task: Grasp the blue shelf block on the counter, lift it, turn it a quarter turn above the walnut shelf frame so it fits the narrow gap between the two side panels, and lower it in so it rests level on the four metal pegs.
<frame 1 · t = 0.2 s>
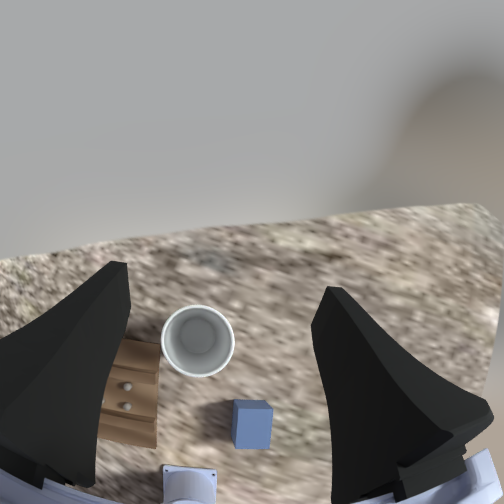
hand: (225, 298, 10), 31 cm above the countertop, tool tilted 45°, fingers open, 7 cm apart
shelf frame: (117, 391, 34), on the countertop
shelf block: (247, 418, 37), on the countertop
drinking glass: (197, 335, 39), on the countertop
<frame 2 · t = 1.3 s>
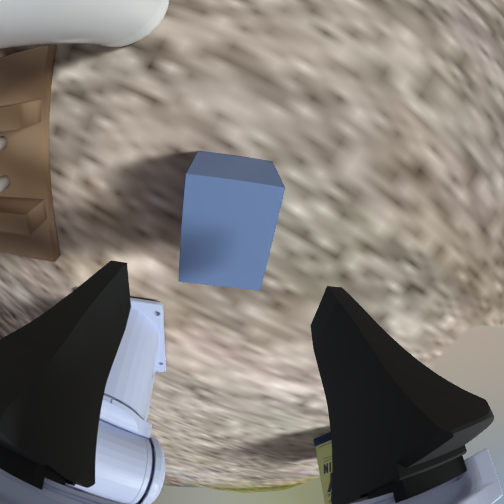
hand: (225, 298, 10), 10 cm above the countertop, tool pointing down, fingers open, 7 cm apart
protein box: (357, 433, 42), on the countertop
shelf block: (228, 200, 19), on the countertop
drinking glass: (129, 10, 11), on the countertop
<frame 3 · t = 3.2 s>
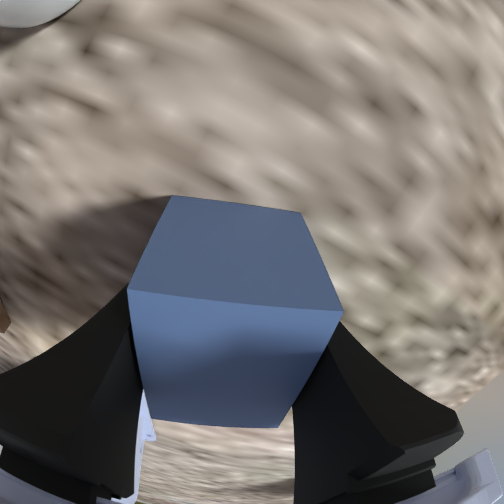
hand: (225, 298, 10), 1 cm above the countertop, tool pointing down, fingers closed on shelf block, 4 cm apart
shelf block: (225, 274, 11), on the countertop, touching gripper
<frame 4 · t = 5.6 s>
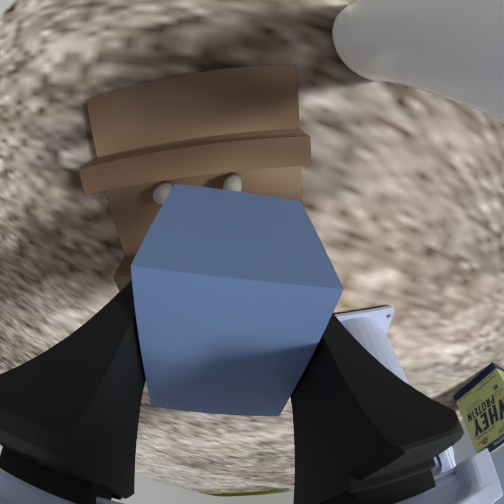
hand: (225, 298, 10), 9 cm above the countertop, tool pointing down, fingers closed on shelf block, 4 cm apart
protein box: (482, 382, 40), on the countertop
shelf frame: (203, 201, 18), on the countertop
shelf block: (227, 262, 12), point 8 cm above the countertop, touching gripper
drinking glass: (368, 42, 13), on the countertop
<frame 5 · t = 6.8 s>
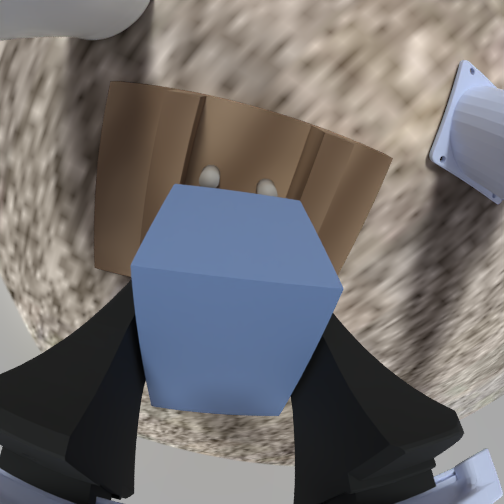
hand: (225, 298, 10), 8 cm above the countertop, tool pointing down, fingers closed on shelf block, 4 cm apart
shelf frame: (229, 206, 17), on the countertop
shelf block: (226, 262, 12), point 6 cm above the countertop, touching gripper
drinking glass: (112, 1, 10), on the countertop
when the fingers open (4 cm above the countertop, at t = 8.0 s): shelf block stays where it is, resting on shelf frame.
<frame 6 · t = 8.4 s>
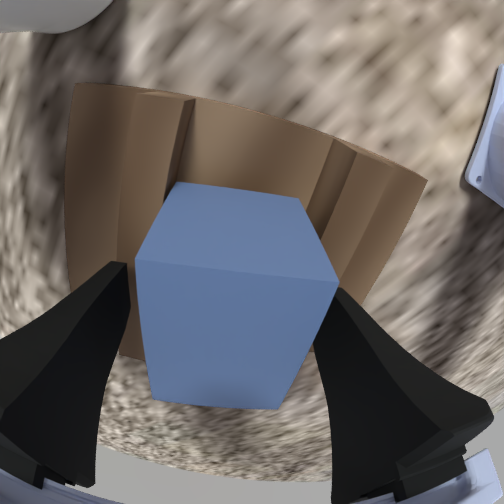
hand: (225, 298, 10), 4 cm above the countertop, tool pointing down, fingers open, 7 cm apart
shelf frame: (227, 237, 14), on the countertop
shelf block: (227, 258, 12), point 2 cm above the countertop, touching shelf frame
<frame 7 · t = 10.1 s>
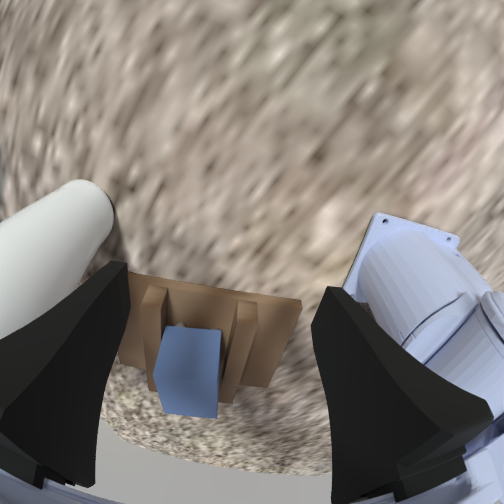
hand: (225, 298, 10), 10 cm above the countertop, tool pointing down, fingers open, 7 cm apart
shelf frame: (197, 335, 26), on the countertop
shelf block: (194, 351, 24), point 2 cm above the countertop, touching shelf frame
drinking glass: (87, 208, 20), on the countertop
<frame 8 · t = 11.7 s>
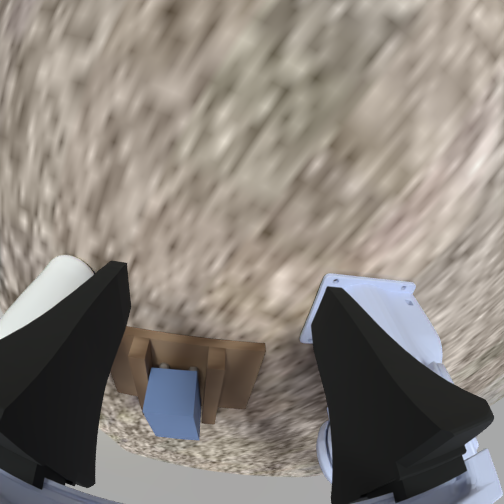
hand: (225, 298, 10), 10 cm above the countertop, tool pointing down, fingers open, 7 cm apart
shelf frame: (180, 370, 29), on the countertop
shelf block: (177, 385, 27), point 2 cm above the countertop, touching shelf frame
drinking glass: (75, 276, 22), on the countertop
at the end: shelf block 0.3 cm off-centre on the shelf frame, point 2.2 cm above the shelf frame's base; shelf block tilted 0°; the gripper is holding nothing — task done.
